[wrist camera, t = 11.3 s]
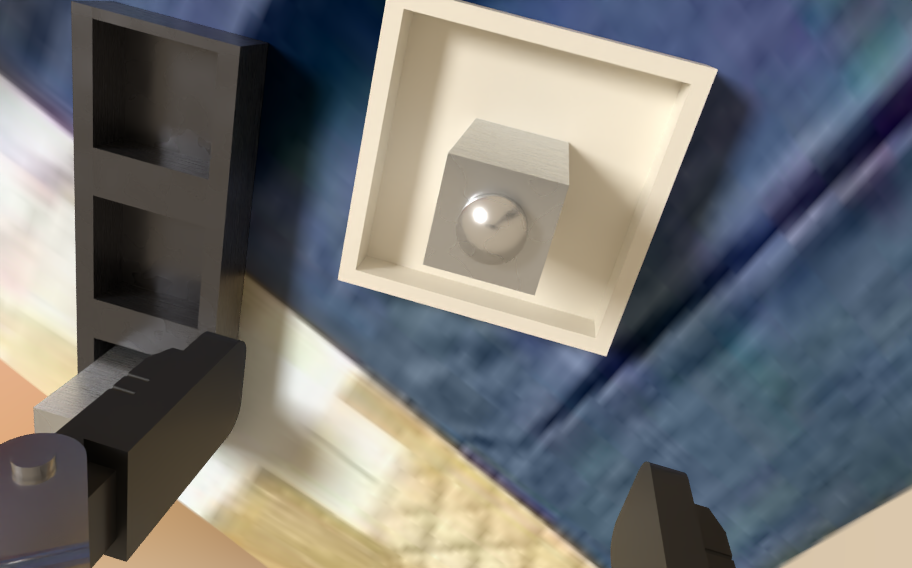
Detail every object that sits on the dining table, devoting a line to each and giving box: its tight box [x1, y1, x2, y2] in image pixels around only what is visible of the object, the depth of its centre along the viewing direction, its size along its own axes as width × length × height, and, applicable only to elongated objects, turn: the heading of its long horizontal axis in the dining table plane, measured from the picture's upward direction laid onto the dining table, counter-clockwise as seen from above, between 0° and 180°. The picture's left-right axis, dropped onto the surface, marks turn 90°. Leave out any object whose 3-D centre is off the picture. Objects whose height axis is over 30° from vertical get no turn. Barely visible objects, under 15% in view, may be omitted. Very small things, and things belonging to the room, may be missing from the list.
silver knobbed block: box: [423, 118, 569, 296], centre depth 28 cm, size 4×4×9 cm
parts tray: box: [338, 0, 718, 356], centre depth 31 cm, size 14×14×3 cm
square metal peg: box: [34, 345, 152, 433], centre depth 36 cm, size 4×4×9 cm
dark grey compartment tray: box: [71, 1, 268, 374], centre depth 35 cm, size 8×24×3 cm, turn 167°
